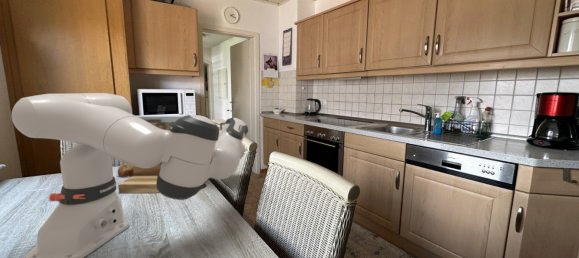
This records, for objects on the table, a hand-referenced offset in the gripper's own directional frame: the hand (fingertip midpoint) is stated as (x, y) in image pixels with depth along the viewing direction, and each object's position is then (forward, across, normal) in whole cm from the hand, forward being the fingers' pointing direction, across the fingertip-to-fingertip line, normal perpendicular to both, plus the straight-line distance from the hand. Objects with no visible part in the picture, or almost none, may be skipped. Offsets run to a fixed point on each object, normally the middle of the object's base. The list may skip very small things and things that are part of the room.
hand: (183, 121), depth 110 cm
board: (-6, -11, -27) cm, 30 cm away
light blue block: (+9, 0, -5) cm, 10 cm away
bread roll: (+12, +7, -37) cm, 40 cm away
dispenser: (-1, 0, -30) cm, 30 cm away
